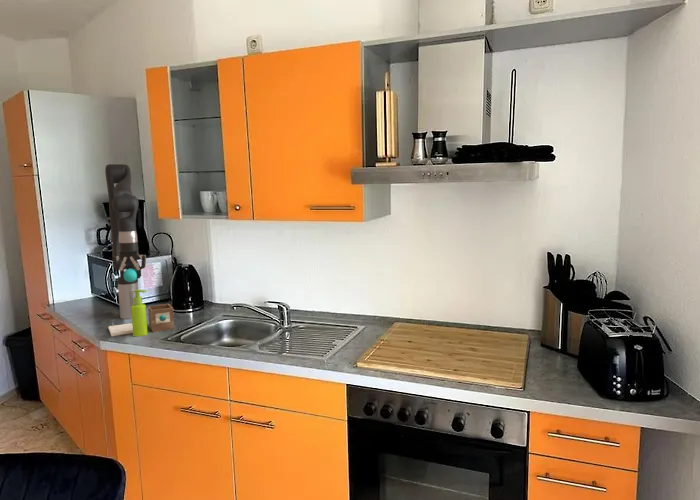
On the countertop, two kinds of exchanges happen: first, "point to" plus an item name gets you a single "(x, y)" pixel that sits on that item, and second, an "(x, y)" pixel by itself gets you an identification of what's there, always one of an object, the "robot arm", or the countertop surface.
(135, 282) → the robot arm
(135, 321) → the soap dispenser
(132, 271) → the ball
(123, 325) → the dish
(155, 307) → the box
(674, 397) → the countertop surface
